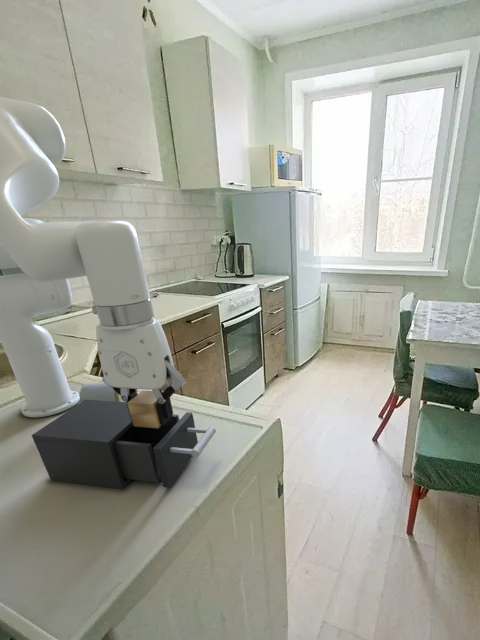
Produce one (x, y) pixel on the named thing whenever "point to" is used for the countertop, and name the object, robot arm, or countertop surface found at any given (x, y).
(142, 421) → the block
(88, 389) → the ceramic mug
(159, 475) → the basket
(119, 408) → the box
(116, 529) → the countertop surface
